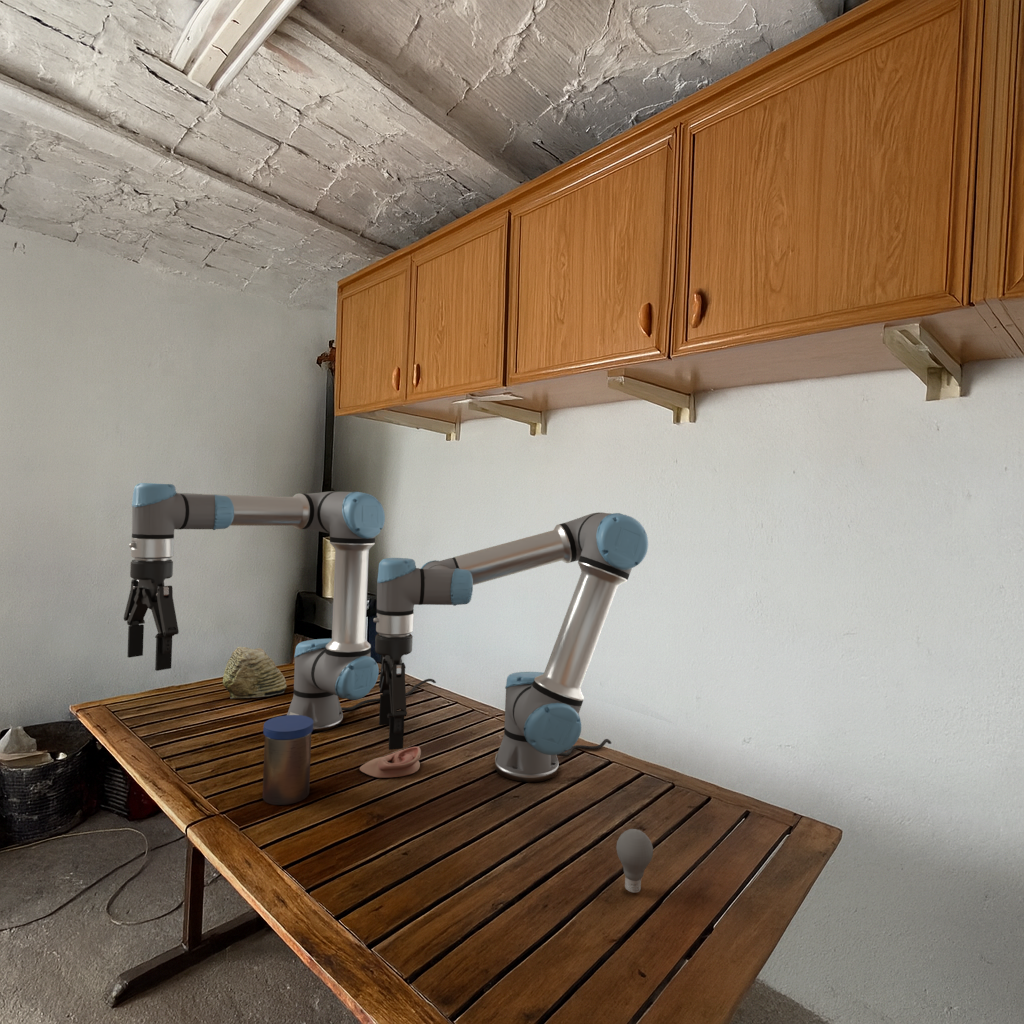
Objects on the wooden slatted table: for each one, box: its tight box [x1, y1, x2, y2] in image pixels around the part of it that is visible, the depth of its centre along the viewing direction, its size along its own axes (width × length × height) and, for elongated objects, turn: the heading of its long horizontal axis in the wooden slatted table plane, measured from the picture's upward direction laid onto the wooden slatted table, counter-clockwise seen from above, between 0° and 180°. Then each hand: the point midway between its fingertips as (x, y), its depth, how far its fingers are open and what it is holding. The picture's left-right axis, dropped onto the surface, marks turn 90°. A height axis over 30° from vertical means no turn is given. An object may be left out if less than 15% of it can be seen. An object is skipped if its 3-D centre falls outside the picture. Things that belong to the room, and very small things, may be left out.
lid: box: [262, 714, 313, 740], centre depth 134 cm, size 10×10×2 cm
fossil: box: [222, 646, 288, 699], centre depth 198 cm, size 9×18×15 cm, turn 132°
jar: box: [262, 732, 312, 806], centre depth 134 cm, size 9×9×15 cm
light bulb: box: [615, 828, 654, 894], centre depth 106 cm, size 6×6×10 cm
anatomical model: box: [359, 746, 422, 779], centre depth 149 cm, size 13×4×12 cm
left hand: (148, 662), depth 129 cm, fingers open, 13 cm apart
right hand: (390, 736), depth 131 cm, fingers open, 13 cm apart
